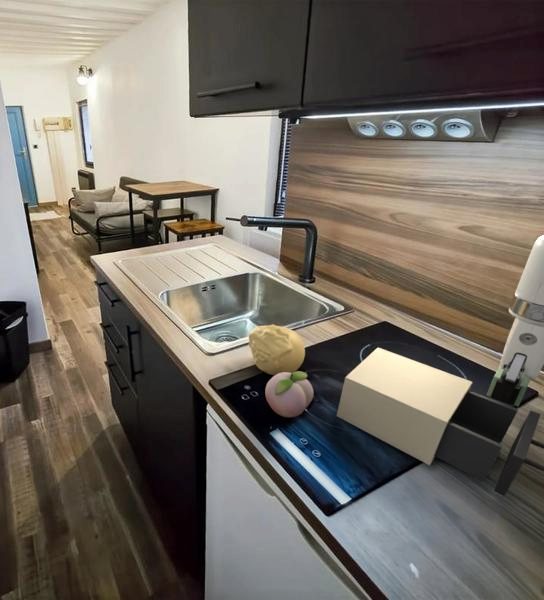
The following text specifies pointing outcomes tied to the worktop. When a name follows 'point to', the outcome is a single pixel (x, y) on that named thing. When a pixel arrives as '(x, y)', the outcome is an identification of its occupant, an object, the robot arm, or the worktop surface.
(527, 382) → the block
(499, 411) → the dark grey drawer
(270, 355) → the tan lumpy ball
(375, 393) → the cream rectangular box
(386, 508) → the worktop surface
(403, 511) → the worktop surface
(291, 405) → the decorative fruit
